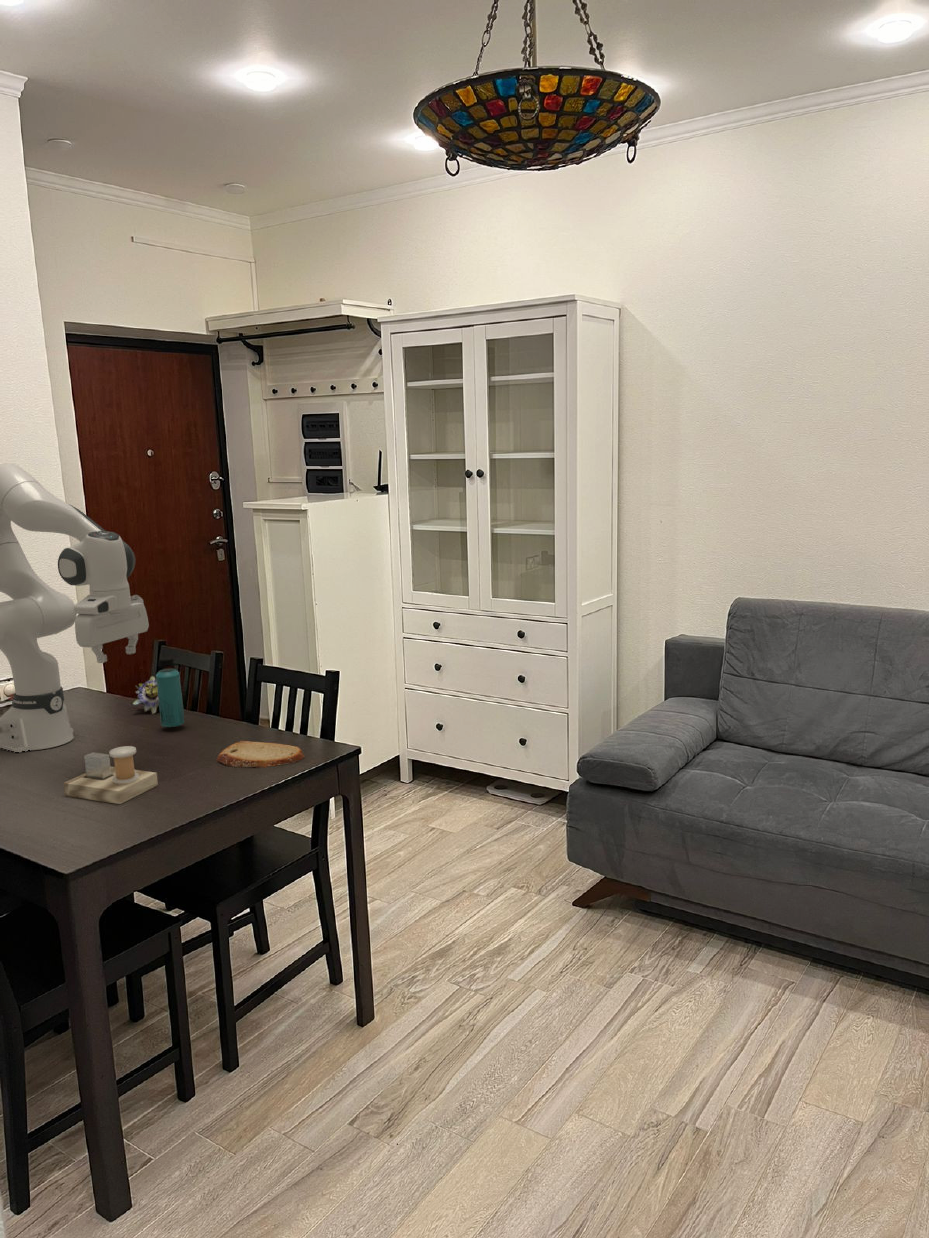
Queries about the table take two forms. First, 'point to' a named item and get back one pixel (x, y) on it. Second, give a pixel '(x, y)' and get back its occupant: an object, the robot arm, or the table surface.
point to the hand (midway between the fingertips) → (116, 657)
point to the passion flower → (148, 695)
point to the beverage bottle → (169, 694)
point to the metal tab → (97, 766)
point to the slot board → (109, 787)
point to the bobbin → (124, 765)
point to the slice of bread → (259, 754)
